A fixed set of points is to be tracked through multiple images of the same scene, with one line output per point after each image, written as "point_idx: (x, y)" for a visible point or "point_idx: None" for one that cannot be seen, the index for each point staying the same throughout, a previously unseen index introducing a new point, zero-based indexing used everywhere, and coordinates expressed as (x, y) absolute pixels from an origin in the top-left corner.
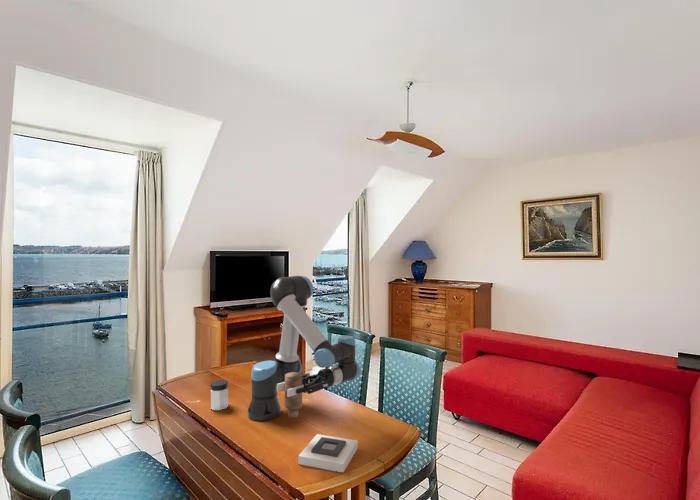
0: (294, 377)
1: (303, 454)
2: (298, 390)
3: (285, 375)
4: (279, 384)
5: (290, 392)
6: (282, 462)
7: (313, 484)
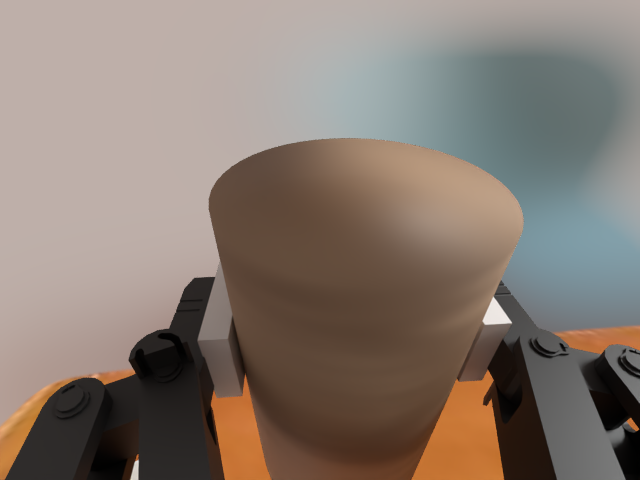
0: (255, 166)
1: None
2: (188, 291)
3: (399, 145)
4: None
5: None
6: (245, 409)
7: None
